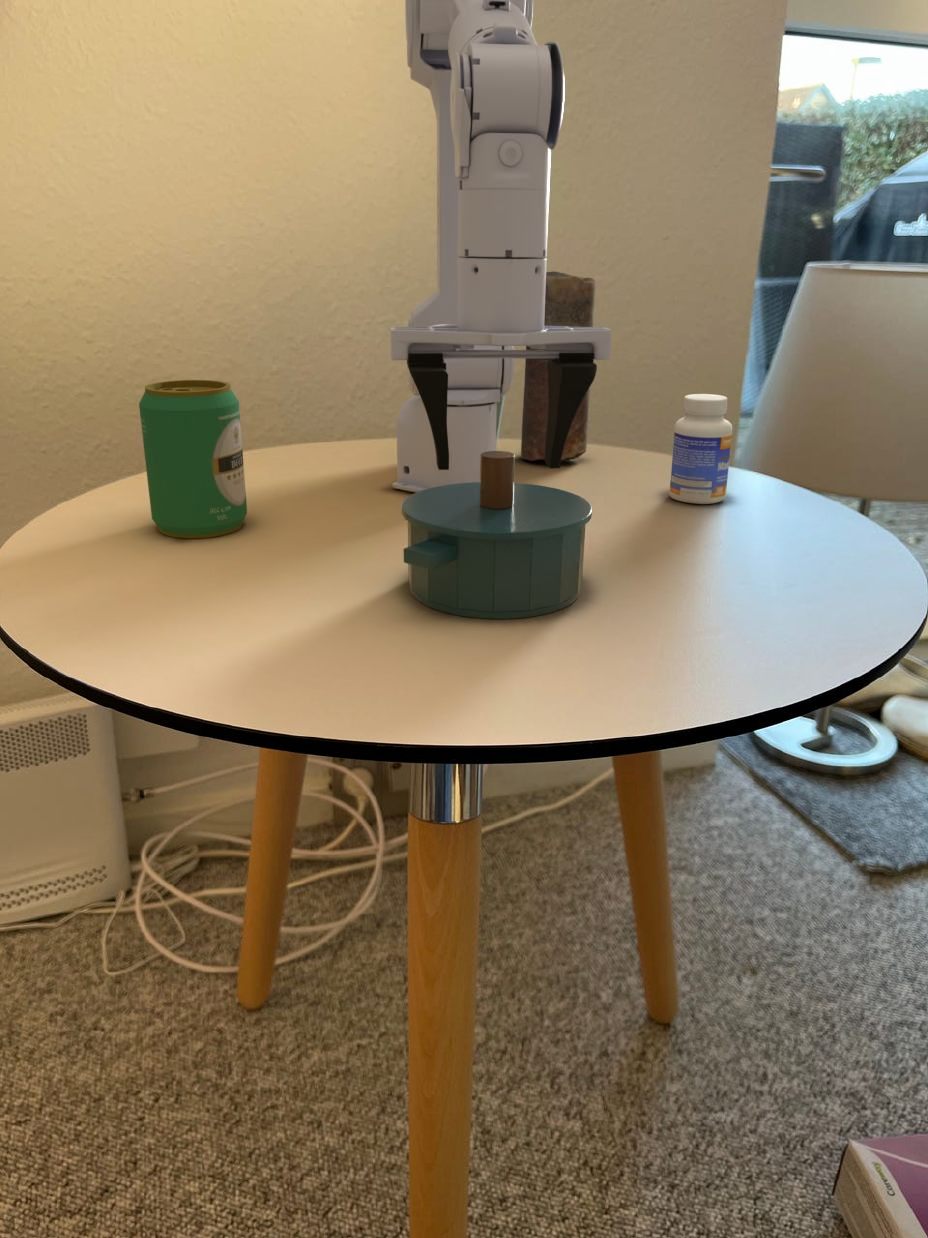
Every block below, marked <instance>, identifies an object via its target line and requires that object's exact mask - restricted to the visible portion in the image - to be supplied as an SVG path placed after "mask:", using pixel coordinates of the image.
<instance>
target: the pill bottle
mask: <svg viewBox="0 0 928 1238" xmlns="http://www.w3.org/2000/svg"><path fill="white" fill-rule="evenodd" d="M727 410H728V397H727V396H725V395H720V394H711V393H694V394H693V393H692V394H687V395H685V396H684V397H683V403H682V411H683V412H684V413H685V415H684V416H683V417H681V418H679V419H678V420H677V421H676V422H675V423H674V429H673V443H672V444H673V445H672V456H671V457H672V458H671V470H670V480H669V481H670V482H669V496H670V498H672V499H673V500H676V501H678V502H682V503H687V504H697V505H710V504H716V503H720V502H722V501H724V500H725V498H726V494H727V487H728V477H729V469H730V468H729V467H730V457H731V450H732V449H731V448H732V439H733V425H732V423H731V422H730V421H729V420H727V419H725V418H724V415H725V414H727Z"/></svg>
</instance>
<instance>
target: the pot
mask: <svg viewBox="0 0 928 1238" xmlns="http://www.w3.org/2000/svg"><path fill="white" fill-rule="evenodd" d="M585 539H586V524H585V525H584V526H582V527H580V528H578V529H575V530H573V531H570V532H566V533H563V534H558V535H553V536H547V537H540V538H530V539H515V540H492V539H474V538H464V537H457V536H450V535H445V534H440V533H436V532H432V531H428V530H425V529H422V528H420V527H417V526H415V525H413V524H411V523H410V522H408V521H407V546H406V547H404V548H403V563H405V564H407V569H408V571H407V573H408V574H407V575H408V576H407V577H408V582H409V591H410V594H411V596H413V598H414V599H416V600H417V602H419V603H420V604H422V605H424V606H426V607H428V608H431V609H433V610H436V611H440V612H443V613H447V614H451V615H454V616H461V617H465V618H466V617H467V618H476V619H486V620H487V619H489V620H490V619H491V620H507V619H512V620H513V619H524V618H530V617H532V618H533V617H537V616H543V615H547V614H550V613H555V612H557V611H560V610H563V609H564V608H566V607H569V606H570V605H572V604H573V603H574V602H575V601H576V600H577V599H578V598H579V596H580V594H581V586H582V585H583V577H584V574H583V572H584V556H585V541H586V540H585Z"/></svg>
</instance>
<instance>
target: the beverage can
mask: <svg viewBox="0 0 928 1238" xmlns="http://www.w3.org/2000/svg"><path fill="white" fill-rule="evenodd" d="M138 406H139V407H138V408H139V416H140V425H141V426H140V427H141V434H142V443H143V451H144V452H143V453H144V460H145V461H144V462H145V469H146V478H147V479H146V480H147V487H148V494H149V497H148V498H149V505H150V514H151V520H152V521H153V522H154V524H155V525H156V526H157V527H158V531H159V532H160V533H161V534H163V535H164V536H167V537H173V538H177V539H204V538H205V539H206V538H214V537H220V536H224V535H229V534H231V533H235V532H236V531H238V530H240V529H241V528H242V527H243V524H244V523H243V522H244V520H245V518H246V516H247V514H248V506H247V492H246V480H245V478H246V477H245V466H244V465H245V464H244V450H243V440H242V439H243V438H242V426H241V412H240V411H241V410H240V401H239V399H238V397H237V396H236V394H235V393H234V392H233V390H232V389H231V384H230V383H229V382H226V381H222V380H214V379H213V380H212V379H179V380H166V381H158V382H153V383H149V384H147V385H145V386H144V392H143V394H142V397H141V399H140V401H139V402H138Z"/></svg>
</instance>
